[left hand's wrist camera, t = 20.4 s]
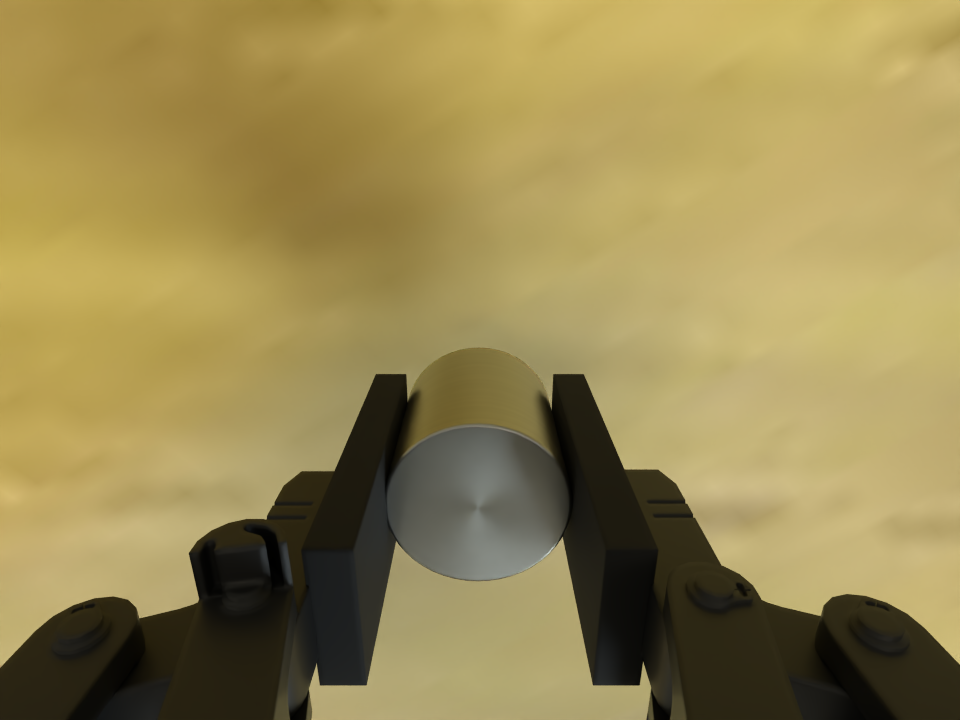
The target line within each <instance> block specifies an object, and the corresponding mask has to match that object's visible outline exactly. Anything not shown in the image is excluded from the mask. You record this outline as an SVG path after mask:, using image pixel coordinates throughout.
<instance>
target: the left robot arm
mask: <svg viewBox="0 0 960 720" xmlns="http://www.w3.org/2000/svg"><path fill="white" fill-rule="evenodd" d="M407 404H408V400H407V380H406V374H376V375H375V378H374V380H373V383H372V385H371V387H370V390H369V392H368V394H367V397H366V399H365V401H364V404H363V406H362V408H361V411H360V413H359V415H358V418H357V420H356V422H355V425H354V427H353V429H352V432H351V434H350V436H349V439H348V441H347V443H346V446H345V448H344V450H343V453H342V455H341V457H340V460H339V462H338V464H337V467H336V469H335V471H302V472H300V473H299V474H298V475H297V476H295V477H294V478H293V479H292V480H290V481H289V482H288V483H287V484H285V485H284V486H283V488H282V490H281V492H280V494H279V495H278V497H277V499H276V501H275V505H274V506H272V508H271V510H270V512H269V513H268V515H267V520H265V519H245V520H240V521H236V522H231V523H228V524H225V525H223V526H221V527H219V528H216V529H214V530H212V531H210V532H209V533H208V534H206V535H205V536H204V537H202V538H201V539H200V540H198V541H197V542H196V544H195V545H194V547H193V548H192V549H191V551H190V552H189V556H190V560H191V565H192V569H193V574H194V578H195V582H196V587H197V591H198V596H199V601H198V603H196V604H194V605H190V606H187V607H184V608H181V609H178V610H173V611H169V612H165V613H161V614H156V615H152V616H148V617H144V618H140V619H139V616H138V612H137V609H136V607H135V606H134V605H133V604H132V603H131V602H130V601H129V600H127V599H122V598H118V597H104V598H94V599H91V600H88V601H85V602H82V603H79V604H76V605H73V606H71V607H70V608H68V609H66V610H64V611H62V612H60V613H58V614H57V615H55V616H53V617H52V618H51V619H49V620H48V621H47V622H46V623H45V624H43V625H42V626H41V627H40V628H39V629H37V630H36V631H35V632H34V633H33V634H32V635H31V636H30V637H29V638H28V639H27V640H26V642H25V643H24V644H23V645H22V646H21V647H20V648H19V649H18V650H17V651H16V652H15V653H14V654H13V655H12V656H11V657H10V658H9V659H8V660H7V661H6V662H5V663H4V665H3V666H2V667H1V668H0V720H311V718H312V708H311V701H310V694H309V686H310V683H311V680H312V676H313V673H314V670H315V667H316V663H317V667H318V675H319V682H320V685H367V681H368V676H369V671H370V666H371V661H372V656H373V651H374V646H375V641H376V636H377V632H378V627H379V622H380V617H381V612H382V607H383V602H384V597H385V592H386V587H387V583H388V578H389V573H390V568H391V563H392V558H393V553H394V548H395V543H396V539H395V538H394V536H393V534H392V532H391V530H390V528H389V526H388V522H387V510H386V495H385V487H386V482H387V479H388V475H389V471H390V467H391V464H392V460H393V456H394V452H395V449H396V445H397V441H398V437H399V434H400V430H401V426H402V422H403V419H404V415H405V411H406V407H407ZM552 415H553V419H554V423H555V427H556V431H557V435H558V439H559V442H560V446H561V450H562V454H563V458H564V462H565V466H566V470H567V474H568V478H569V482H570V486H571V493H572V510H571V517H570V520H569V523H568V526H567V528H566V530H565V532H564V535H563V540H564V545H565V550H566V555H567V560H568V565H569V570H570V575H571V579H572V584H573V589H574V594H575V599H576V604H577V609H578V614H579V619H580V624H581V628H582V633H583V638H584V643H585V648H586V653H587V658H588V663H589V668H590V673H591V678H592V682H593V685H640V679H641V672H642V665H643V662H644V665H645V668H646V672H647V675H648V678H649V681H650V685H651V694H650V701H649V707H648V714H647V720H960V665H959V663H958V662H957V661H956V660H955V659H954V658H953V657H952V656H951V655H950V654H949V653H948V652H947V651H946V650H945V649H944V648H943V647H942V646H941V645H940V644H939V643H938V642H937V641H936V640H935V639H934V638H933V636H932V635H931V634H930V633H929V632H928V631H927V630H926V629H925V628H924V627H922V626H921V625H920V624H919V623H918V622H916V621H915V620H914V619H913V618H912V617H910V616H909V615H908V614H906V613H905V612H903V611H901V610H899V609H897V608H895V607H893V606H892V605H890V604H888V603H886V602H882V601H879V600H876V599H873V598H870V597H867V596H860V595H850V594H845V595H841V596H836V597H832V598H831V599H830V600H829V601H828V602H827V603H826V604H825V605H824V607H823V610H822V614H821V616H817V615H813V614H809V613H805V612H800V611H796V610H792V609H788V608H784V607H780V606H777V605H774V604H770V603H767V602H765V601H763V600H761V598H760V596H759V595H758V593H757V591H756V590H755V588H754V586H753V585H752V584H751V583H749V582H748V581H747V580H746V579H745V578H743V577H742V576H741V575H740V574H738V573H736V572H734V571H732V570H730V569H728V568H726V567H724V566H721V564H720V562H719V560H718V558H717V557H716V555H715V553H714V551H713V549H712V548H711V546H710V544H709V542H708V540H707V539H706V537H705V535H704V533H703V531H702V530H701V528H700V526H699V524H698V523H697V521H696V519H695V518H693V514H692V512H691V510H690V508H689V506H688V505H687V504H685V499H684V497H683V496H682V494H681V492H680V490H679V488H678V487H677V485H676V484H675V483H674V482H673V481H672V480H670V479H669V478H668V477H667V476H665V475H664V474H663V473H662V472H660V471H659V470H624V468H623V465H622V463H621V461H620V458H619V456H618V454H617V451H616V449H615V447H614V444H613V442H612V440H611V437H610V435H609V433H608V430H607V428H606V425H605V423H604V421H603V418H602V416H601V414H600V411H599V409H598V407H597V404H596V402H595V400H594V397H593V395H592V393H591V390H590V388H589V386H588V383H587V381H586V379H585V376H584V374H553V393H552Z"/></svg>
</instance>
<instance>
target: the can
mask: <svg viewBox="0 0 960 720" xmlns="http://www.w3.org/2000/svg"><path fill="white" fill-rule="evenodd" d="M385 495H386V510H387V522H388V526H389V528H390V530H391V532H392V534H393V536H394V538H395V539H396V541H397V542H398V544H399V545H400V546H401V547H402V549H403V550H404V551H405V552H406V553H407V554H408V555H409V556H410V557H411V558H413V559H414V560H415V561H416V562H418V563H419V564H421V565H422V566H424V567H426V568H428V569H429V570H431V571H433V572H436V573H438V574H441V575H443V576H447V577H451V578H454V579H460V580H467V581H490V580H496V579H502V578H506V577H510V576H513V575H515V574H518V573H521V572H523V571H525V570H527V569H529V568H531V567H533V566H534V565H536V564H537V563H539V562H540V561H541V560H543V559H544V558H545V557H546V556H547V555H548V554H549V553H550V552H551V551H552V550H553V549H554V548H555V547H556V546H557V544H558V543H559V541H560V540H561V538H562V537H563V535H564V532H565V530H566V528H567V526H568V523H569V520H570V517H571V510H572V493H571V486H570V482H569V478H568V474H567V470H566V466H565V462H564V458H563V454H562V450H561V446H560V442H559V439H558V435H557V431H556V427H555V423H554V419H553V415H552V411H551V407H550V403H549V399H548V396H547V392H546V390H545V388H544V385H543V383H542V382H541V380H540V379H539V377H538V376H537V374H536V373H535V372H534V371H533V370H532V369H531V368H530V367H529V366H528V365H526V364H525V363H524V362H523V361H521V360H520V359H518V358H516V357H514V356H512V355H510V354H508V353H505V352H502V351H499V350H494V349H489V348H468V349H463V350H458V351H455V352H452V353H449V354H447V355H445V356H443V357H441V358H439V359H438V360H436V361H434V362H433V363H432V364H431V365H429V366H428V367H427V368H426V369H425V370H424V371H423V372H422V373H421V375H420V376H419V378H418V379H417V380H416V382H415V384H414V386H413V388H412V390H411V393H410V396H409V400H408V404H407V407H406V411H405V415H404V419H403V422H402V426H401V430H400V434H399V437H398V441H397V445H396V449H395V452H394V456H393V460H392V464H391V467H390V471H389V475H388V479H387V482H386V487H385Z"/></svg>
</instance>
